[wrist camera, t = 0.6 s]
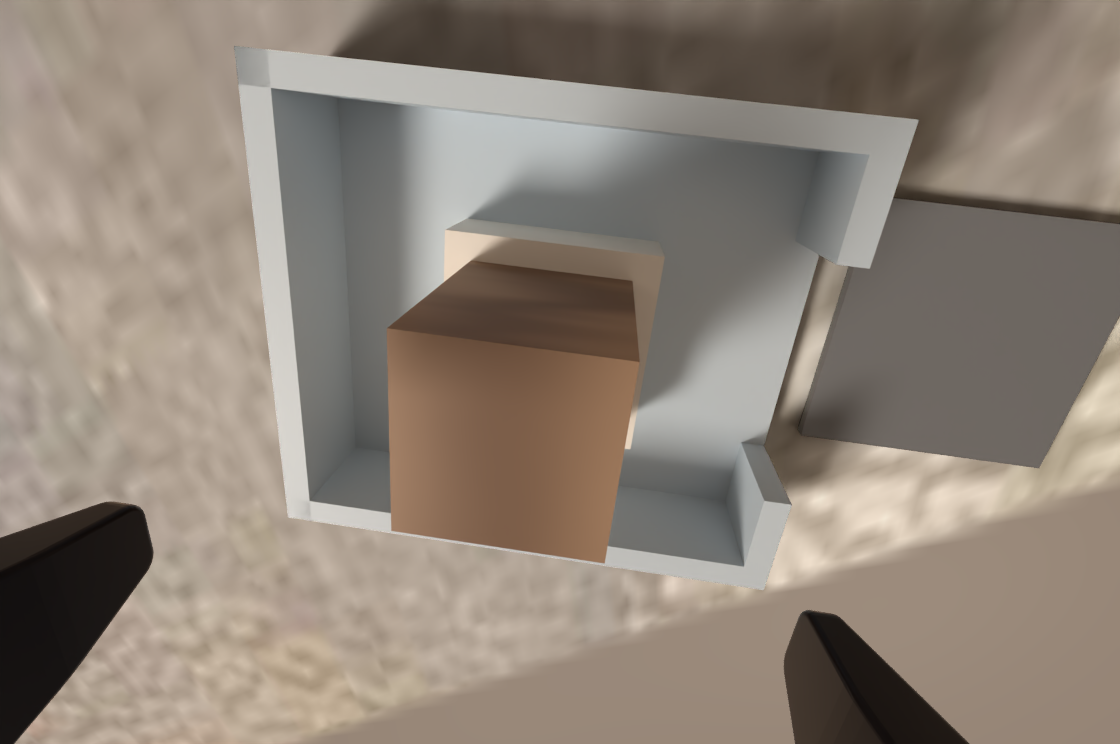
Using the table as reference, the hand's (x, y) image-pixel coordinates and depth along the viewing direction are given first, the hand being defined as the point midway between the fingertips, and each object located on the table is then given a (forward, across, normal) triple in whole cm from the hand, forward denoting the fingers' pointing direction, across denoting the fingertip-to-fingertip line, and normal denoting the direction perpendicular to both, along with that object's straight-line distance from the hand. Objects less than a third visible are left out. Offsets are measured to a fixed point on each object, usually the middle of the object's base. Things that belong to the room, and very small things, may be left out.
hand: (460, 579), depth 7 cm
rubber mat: (+12, -13, -1) cm, 18 cm away
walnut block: (+9, 0, 0) cm, 9 cm away
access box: (+12, 0, 0) cm, 12 cm away
